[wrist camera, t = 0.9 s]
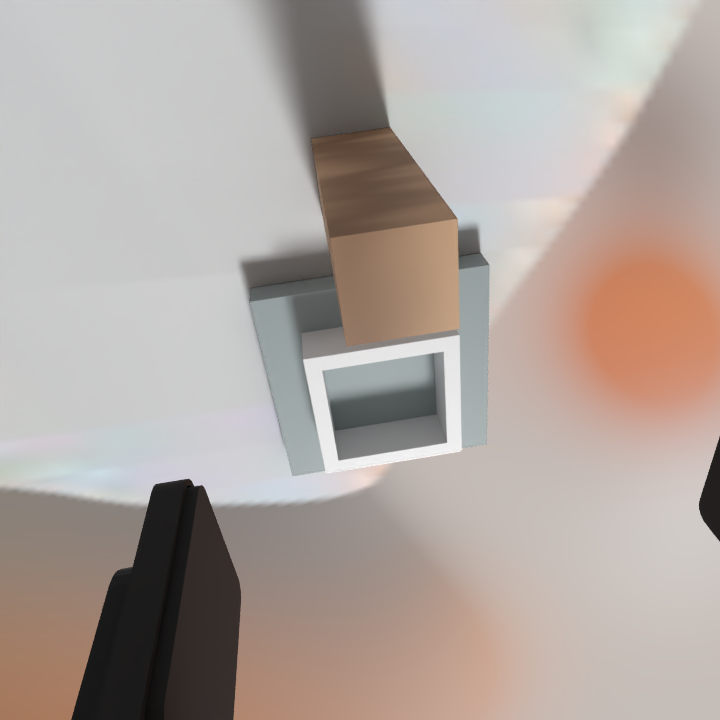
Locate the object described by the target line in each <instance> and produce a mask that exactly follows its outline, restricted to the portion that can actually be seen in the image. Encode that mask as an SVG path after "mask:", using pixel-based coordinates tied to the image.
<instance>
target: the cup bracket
mask: <svg viewBox="0 0 720 720" xmlns="http://www.w3.org/2000/svg"><path fill="white" fill-rule="evenodd" d="M458 265H459V319H460V329H456V330H449V331H443V332H437V333H430V334H424V335H418V336H411V337H405V338H399V339H392V340H386V341H380V342H373V343H367V344H361V345H354V346H348V347H346V343H345V337H344V332H343V326H342V320H341V315H340V309H339V304H338V298H337V293H336V287H335V282H334V276H328V277H321V278H315V279H308V280H302V281H295V282H289V283H282V284H276V285H269V286H262V287H256V288H251V290H250V300H249V303H250V307H251V311H252V315H253V319H254V323H255V327H256V331H257V335H258V339H259V343H260V347H261V351H262V355H263V359H264V363H265V367H266V371H267V375H268V379H269V383H270V387H271V391H272V395H273V399H274V403H275V407H276V411H277V415H278V420H279V424H280V428H281V432H282V436H283V440H284V444H285V448H286V452H287V456H288V460H289V464H290V468H291V472H292V476H297V475H303V474H309V473H315V472H321V471H326V474H327V473H333V472H339V471H345V470H351V469H357V468H363V467H369V466H375V465H381V464H388V463H394V462H400V461H406V460H412V459H418V458H424V457H430V456H436V455H441V454H448V453H454V452H460V451H462V448H467V447H473V446H479V445H485V444H487V403H488V333H489V264H488V262H487V261H486V260H485V258H484V257H483V255H482V254H481V253H478V254H471V255H465V256H458Z"/></svg>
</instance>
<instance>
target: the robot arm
mask: <svg viewBox="0 0 720 720" xmlns="http://www.w3.org/2000/svg"><path fill="white" fill-rule="evenodd" d="M699 510H700V514H701V516H702V518H703V520H704V522H705V523H706V524H707V526H708V527H709V528H710V530H711V531H712V532H713V534H714V535H715V536H716V537H717V539H718V540H719V541H720V438H719V441H718V444H717V447H716V450H715V453H714V457H713V460H712V463H711V466H710V469H709V472H708V476H707V479H706V482H705V485H704V488H703V492H702V495H701V498H700V501H699ZM240 607H241V590H240V583H239V579H238V576H237V574H236V571H235V568H234V566H233V563H232V561H231V558H230V555H229V552H228V550H227V547H226V544H225V541H224V539H223V536H222V533H221V531H220V528H219V525H218V523H217V520H216V517H215V515H214V512H213V509H212V507H211V504H210V501H209V498H208V496H207V493H206V490H205V488H204V487H203V486H202V485H201V486H195V487H194V485H193V483H192V481H191V480H190V479H184V480H178V481H172V482H166V483H160V484H156V485H155V486H154V487H153V489H152V492H151V496H150V500H149V504H148V508H147V512H146V517H145V521H144V525H143V528H142V532H141V536H140V540H139V545H138V549H137V552H136V557H135V560H134V565H133V567H130V568H125V569H121V570H118V571H117V572H116V573H115V574H114V576H113V577H112V580H111V582H110V585H109V588H108V591H107V595H106V599H105V602H104V606H103V609H102V613H101V616H100V620H99V623H98V627H97V630H96V634H95V638H94V641H93V645H92V648H91V652H90V655H89V659H88V663H87V666H86V669H85V673H84V677H83V680H82V684H81V688H80V691H79V695H78V698H77V701H76V705H75V708H74V712H73V716H72V719H71V720H233V716H234V715H233V714H234V700H235V685H236V669H237V654H238V638H239V623H240V622H239V621H240Z"/></svg>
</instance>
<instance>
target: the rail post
mask: <svg viewBox="0 0 720 720" xmlns="http://www.w3.org/2000/svg"><path fill="white" fill-rule="evenodd" d="M311 143H312V149H313V156H314V162H315V169H316V175H317V182H318V189H319V195H320V202H321V208H322V215H323V220H324V226H325V231H326V237H327V243H328V248H329V254H330V259H331V265H332V270H333V276H334V282H335V287H336V293H337V298H338V304H339V309H340V315H341V320H342V326H343V332H344V337H345V343H346V347H348V346H354V345H361V344H367V343H373V342H380V341H386V340H392V339H399V338H405V337H411V336H418V335H424V334H430V333H437V332H443V331H449V330H456V329H460V319H459V265H458V219H457V217H456V216H455V215H454V213H453V212H452V210H451V209H450V208H449V206H448V205H447V204H446V202H445V201H444V200H443V198H442V197H441V196H440V194H439V193H438V192H437V190H436V189H435V187H434V186H433V185H432V183H431V182H430V181H429V179H428V178H427V177H426V175H425V174H424V173H423V171H422V170H421V169H420V167H419V166H418V164H417V163H416V162H415V160H414V159H413V158H412V156H411V155H410V154H409V152H408V151H407V150H406V148H405V147H404V146H403V144H402V143H401V141H400V140H399V139H398V137H397V136H396V135H395V133H394V132H393V131H392V129H391V128H390V127H388V128H381V129H374V130H367V131H360V132H353V133H346V134H339V135H333V136H326V137H319V138H312V139H311Z"/></svg>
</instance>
